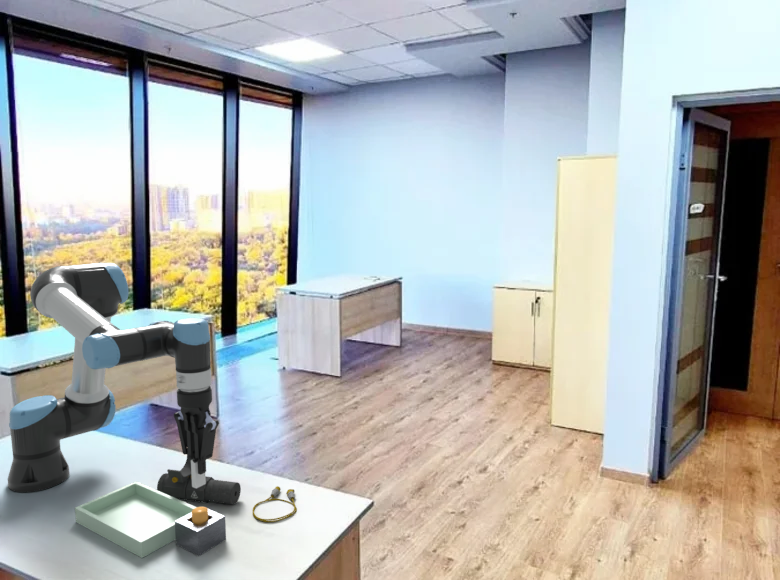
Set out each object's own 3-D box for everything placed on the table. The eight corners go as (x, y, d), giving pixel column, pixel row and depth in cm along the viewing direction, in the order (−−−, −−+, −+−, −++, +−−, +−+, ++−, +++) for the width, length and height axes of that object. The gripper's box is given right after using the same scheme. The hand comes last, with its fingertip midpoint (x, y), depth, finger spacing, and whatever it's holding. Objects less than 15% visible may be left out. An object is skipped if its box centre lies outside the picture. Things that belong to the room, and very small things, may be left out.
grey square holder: (175, 544, 138) (174, 521, 137) (203, 529, 145) (202, 506, 144) (198, 556, 134) (197, 531, 133) (226, 539, 141) (225, 516, 140)
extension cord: (314, 500, 160) (314, 494, 160) (276, 528, 146) (276, 521, 146) (279, 490, 166) (278, 483, 165) (239, 515, 152) (238, 508, 152)
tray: (75, 522, 148) (74, 507, 147) (137, 494, 162) (136, 481, 161) (142, 558, 133) (141, 542, 133) (203, 524, 147) (202, 509, 147)
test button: (189, 531, 138) (188, 511, 138) (201, 524, 141) (200, 505, 141) (199, 536, 137) (198, 516, 136) (211, 529, 140) (211, 509, 139)
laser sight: (227, 513, 153) (225, 477, 151) (149, 503, 158) (147, 467, 156) (244, 495, 162) (243, 461, 160) (171, 486, 167) (169, 452, 165)
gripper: (161, 386, 134) (167, 484, 138) (199, 397, 127) (204, 499, 131) (189, 378, 140) (193, 472, 144) (227, 387, 133) (230, 486, 137)
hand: (198, 485), depth 137 cm, fingers closed
